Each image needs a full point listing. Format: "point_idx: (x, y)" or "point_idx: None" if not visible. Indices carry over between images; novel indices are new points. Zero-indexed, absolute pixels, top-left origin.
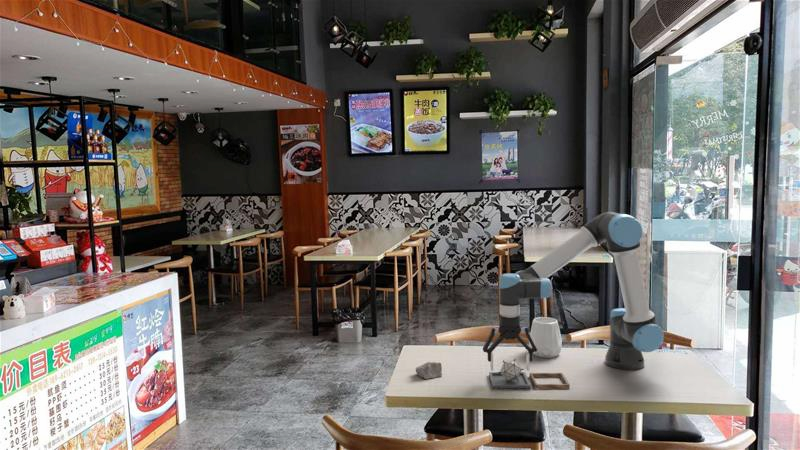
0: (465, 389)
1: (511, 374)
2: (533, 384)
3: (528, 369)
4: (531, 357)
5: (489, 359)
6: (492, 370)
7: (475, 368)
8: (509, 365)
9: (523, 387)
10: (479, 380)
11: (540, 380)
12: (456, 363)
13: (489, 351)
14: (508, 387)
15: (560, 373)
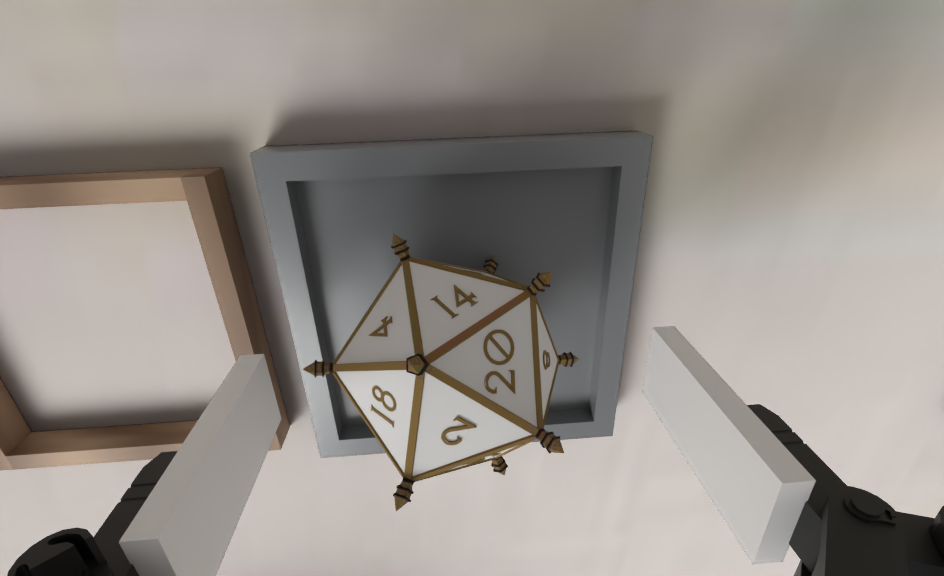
0: (886, 119)
1: (455, 269)
2: (245, 263)
3: (247, 360)
4: (133, 499)
5: (765, 424)
6: (662, 328)
7: (664, 519)
8: (479, 365)
9: (336, 145)
10: (697, 328)
11: (193, 361)
12: (759, 572)
13: (878, 522)
14: (489, 139)
15: (6, 457)
